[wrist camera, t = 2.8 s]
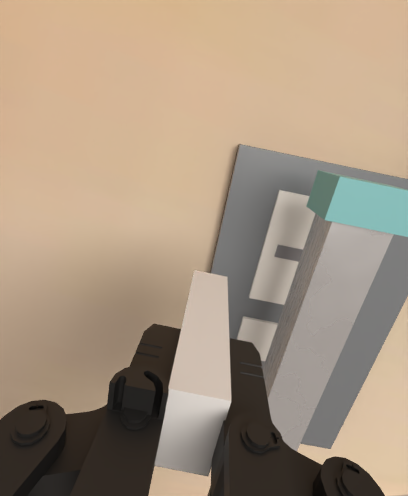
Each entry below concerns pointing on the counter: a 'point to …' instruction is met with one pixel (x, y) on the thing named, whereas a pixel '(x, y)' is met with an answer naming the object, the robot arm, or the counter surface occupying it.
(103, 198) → the counter surface
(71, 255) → the counter surface
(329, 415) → the label board
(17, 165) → the counter surface
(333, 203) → the swing arm
